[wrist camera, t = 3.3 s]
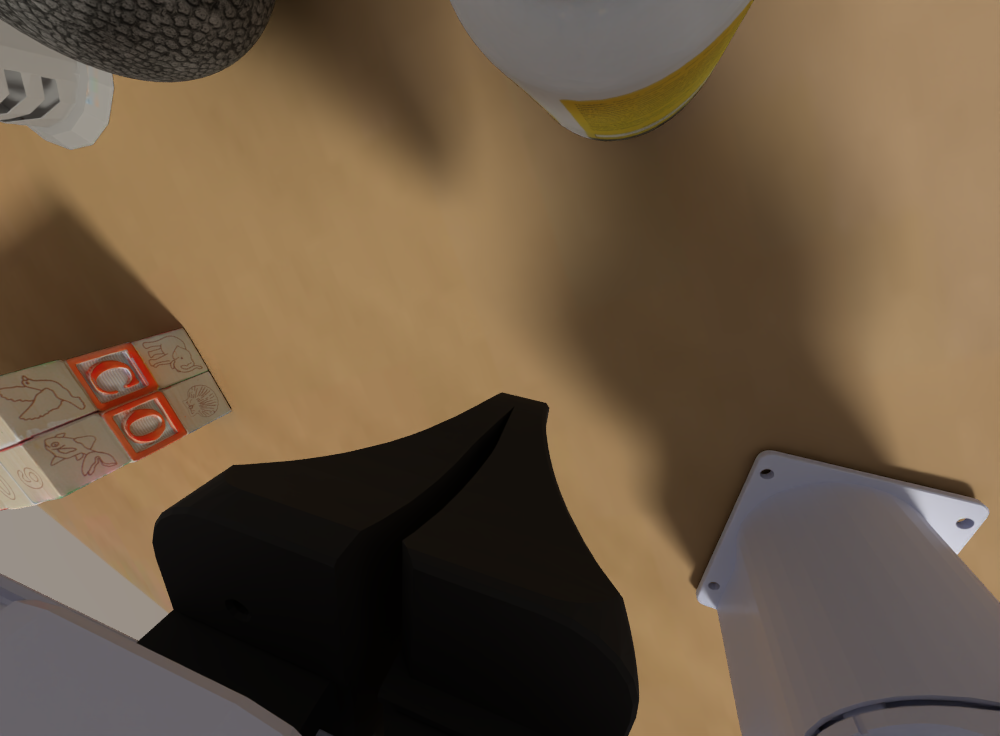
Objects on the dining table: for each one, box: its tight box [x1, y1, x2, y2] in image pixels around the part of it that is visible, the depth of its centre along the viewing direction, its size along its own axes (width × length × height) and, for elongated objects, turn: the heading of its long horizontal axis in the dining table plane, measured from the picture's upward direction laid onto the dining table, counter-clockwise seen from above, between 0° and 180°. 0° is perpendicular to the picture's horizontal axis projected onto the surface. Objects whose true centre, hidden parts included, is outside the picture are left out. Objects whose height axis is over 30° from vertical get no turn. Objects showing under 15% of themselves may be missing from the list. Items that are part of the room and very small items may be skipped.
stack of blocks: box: [0, 328, 231, 510], centre depth 25 cm, size 21×6×12 cm, turn 111°
